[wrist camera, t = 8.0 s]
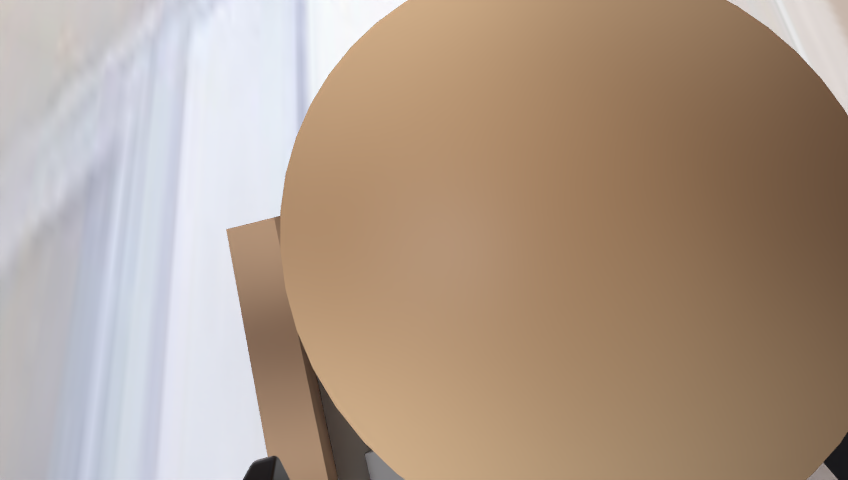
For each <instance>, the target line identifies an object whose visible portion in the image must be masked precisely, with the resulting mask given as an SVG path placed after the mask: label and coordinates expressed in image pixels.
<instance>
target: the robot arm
mask: <svg viewBox="0 0 848 480" xmlns="http://www.w3.org/2000/svg"><path fill="white" fill-rule="evenodd" d="M824 464H825V465H826V466H827V467H828V468H829V469H830V471H831V472H832V473H833V474H834V475H835V476H836V478H837V479H838V480H848V432H847V433H846V435H845V436H844V438H843V440H842V441H841V443H840V444H839V445H838V446H837V447H836V448H835V450H834V451H833V452H832V453H831V454H830V455H829V456H828V457H827V458H826V460H825V461H824ZM243 480H290V479H289V477H288V475H287V472H286V470H285V468H284V466H283V464H282V462H281V460H280V459H279V458H278V457H277V456H270V457H266V458H263V459H259V460H256V461H255V462H253V463H252V465H251V466H250V468H249V470H248V471H247V473H246V475H245V477H244V479H243Z"/></svg>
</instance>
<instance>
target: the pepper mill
mask: <svg viewBox="0 0 848 480" xmlns="http://www.w3.org/2000/svg"><path fill="white" fill-rule="evenodd" d="M280 251H281V259H282V266H283V274H284V282H285V289H286V293H287V297H288V300H289V304H290V308H291V311H292V315H293V319H294V322H295V326H296V330H297V332H298V334H299V337H300V339H301V341H302V344H303V346H304V349H305V351H306V353H307V356H308V358H309V360H310V363H311V365H312V367H313V369H314V371H315V373H316V374H317V376H318V378H319V380H320V381H321V383H322V385H323V386H324V388H325V390H326V391H327V393H328V395H329V396H330V398H331V400H332V401H333V403H334V405H335V406H336V408H337V409H338V410H339V411H340V413H341V414H342V415H343V416H344V418H345V419H346V420H347V422H348V423H349V424H350V425H351V427H352V428H353V429H354V430H355V432H356V433H357V434H358V435H359V437H360V438H361V439H362V440H363V442H364V443H365V444H366V445H368V446H369V447H370V448H371V449H372V450H373V451H374V452H375V453H376V454H377V455H378V456H379V457H380V458H381V459H382V460H383V461H384V462H385V463H386V464H387V465H388V466H389V467H390V468H391V469H392V470H394V471H395V472H396V473H397V474H398V475H400V476H401V477H402V478H404V479H405V480H806V479H807V478H808V477H810V476H811V475H812V474H813V473H814V472H815V471H816V470H817V468H818V467H819V466H820V465H821V464H822V463H823V462H824V461H825V460H826V458H827V457H828V456H829V455H830V454H831V453H832V452H833V451H834V450H835V448H836V447H837V446H838V445H839V444H840V443H841V441H842V440H843V438H844V436H845V435H846V433H847V432H848V115H847V114H846V112H845V110H844V109H843V107H842V106H841V105H840V103H839V102H838V101H837V99H836V98H835V97H834V95H833V94H832V92H831V91H830V90H829V88H828V87H827V86H826V84H825V83H824V82H823V80H822V79H821V78H820V77H819V76H818V75H817V74H816V73H815V71H814V70H813V69H812V68H811V67H810V66H809V65H808V64H807V63H806V62H805V61H804V60H803V59H802V57H801V56H800V55H799V54H798V53H797V52H796V51H795V50H794V49H792V48H791V47H790V46H789V45H788V44H787V43H785V42H784V41H783V40H782V39H781V38H780V37H779V36H777V35H776V34H775V33H774V32H773V31H772V30H770V29H769V28H768V27H767V26H765V25H764V24H762V23H761V22H759V21H758V20H757V19H755V18H754V17H752V16H751V15H749V14H748V13H746V12H745V11H743V10H742V9H741V8H739V7H738V6H736V5H734V4H732V3H730V2H728V1H727V0H408V1H406V2H404V3H403V4H402V5H400V6H399V7H397V8H396V9H395V10H393V11H392V12H391V13H389V14H388V15H387V16H385V17H384V18H383V19H381V20H380V21H378V22H377V23H376V24H375V25H374V26H373V27H372V28H371V29H370V30H368V31H367V32H366V33H365V34H364V35H363V36H362V37H361V38H360V39H359V40H358V41H357V42H356V43H355V44H354V45H353V46H352V47H351V48H350V49H349V50H348V51H347V53H346V54H345V55H344V56H343V58H342V59H341V60H340V61H339V63H338V64H337V65H336V66H335V68H334V69H333V70H332V71H331V73H330V74H329V75H328V77H327V79H326V80H325V82H324V83H323V85H322V87H321V88H320V90H319V92H318V93H317V95H316V97H315V98H314V100H313V102H312V103H311V105H310V107H309V109H308V112H307V114H306V116H305V118H304V121H303V123H302V125H301V128H300V130H299V132H298V134H297V137H296V140H295V143H294V147H293V150H292V154H291V157H290V161H289V164H288V168H287V171H286V176H285V183H284V190H283V197H282V204H281V215H280Z"/></svg>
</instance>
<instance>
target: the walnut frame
mask: <svg viewBox="0 0 848 480" xmlns="http://www.w3.org/2000/svg"><path fill="white" fill-rule="evenodd" d="M226 230H227V236H228V241H229V247H230V252H231V258H232V263H233V268H234V274H235V279H236V285H237V290H238V296H239V301H240V307H241V312H242V318H243V323H244V329H245V334H246V340H247V345H248V351H249V356H250V362H251V367H252V373H253V378H254V384H255V389H256V394H257V400H258V405H259V411H260V416H261V422H262V427H263V433H264V438H265V444H266V449H267V455H268V457H270V456H277V457H278V458H279V459H280V460H281V462H282V464H283V466H284V468H285V470H286V472H287V475H288V477H289V479H290V480H338V476H337V472H336V467H335V462H334V457H333V453H332V448H331V443H330V438H329V434H328V429H327V424H326V419H325V415H324V410H323V405H322V400H321V396H320V391H319V386H318V381H317V377H316V373H315V371H314V369H313V367H312V365H311V363H310V360H309V358H308V356H307V353H306V351H305V349H304V346H303V344H302V341H301V339H300V337H299V334H298V332H297V330H296V326H295V322H294V319H293V315H292V311H291V308H290V304H289V300H288V297H287V293H286V289H285V282H284V274H283V266H282V259H281V251H280V216H278V217H274V218H270V219H266V220H262V221H258V222H254V223H250V224H246V225H242V226H238V227H234V228H230V229H226Z"/></svg>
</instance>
